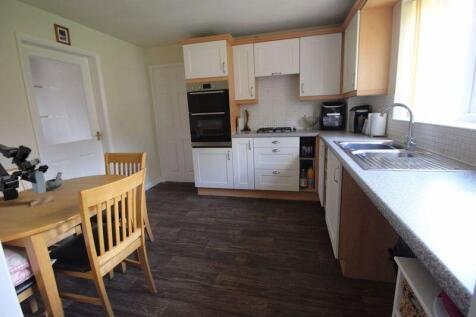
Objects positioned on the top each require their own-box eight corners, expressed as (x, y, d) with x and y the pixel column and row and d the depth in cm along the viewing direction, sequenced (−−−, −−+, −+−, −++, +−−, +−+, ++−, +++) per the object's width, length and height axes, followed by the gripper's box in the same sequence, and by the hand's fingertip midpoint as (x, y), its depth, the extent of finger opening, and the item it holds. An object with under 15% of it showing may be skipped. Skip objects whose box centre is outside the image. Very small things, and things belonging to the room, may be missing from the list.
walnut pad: (30, 206, 137) (30, 204, 136) (30, 202, 144) (30, 200, 144) (54, 201, 144) (53, 199, 144) (52, 197, 151) (52, 195, 151)
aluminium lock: (39, 193, 140) (35, 173, 137) (33, 192, 141) (29, 172, 139) (46, 191, 144) (42, 171, 141) (40, 190, 145) (36, 170, 143)
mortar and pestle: (52, 192, 161) (49, 175, 159) (44, 190, 165) (40, 174, 162) (68, 187, 172) (65, 171, 169) (60, 185, 175) (57, 170, 172)
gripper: (8, 158, 130) (26, 178, 129) (43, 152, 148) (59, 169, 147) (2, 171, 134) (20, 190, 133) (37, 163, 151) (53, 180, 151)
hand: (39, 182), depth 141 cm, fingers closed on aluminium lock, 4 cm apart
